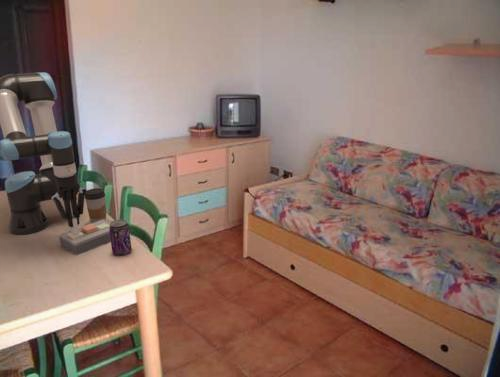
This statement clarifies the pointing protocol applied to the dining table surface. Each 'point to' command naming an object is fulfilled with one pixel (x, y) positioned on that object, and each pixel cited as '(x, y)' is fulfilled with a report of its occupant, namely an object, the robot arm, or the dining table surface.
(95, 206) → the coffee cup
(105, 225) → the key sage
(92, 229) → the key terracotta
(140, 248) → the dining table surface
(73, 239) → the key cream
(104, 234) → the keypad
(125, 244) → the beverage can
